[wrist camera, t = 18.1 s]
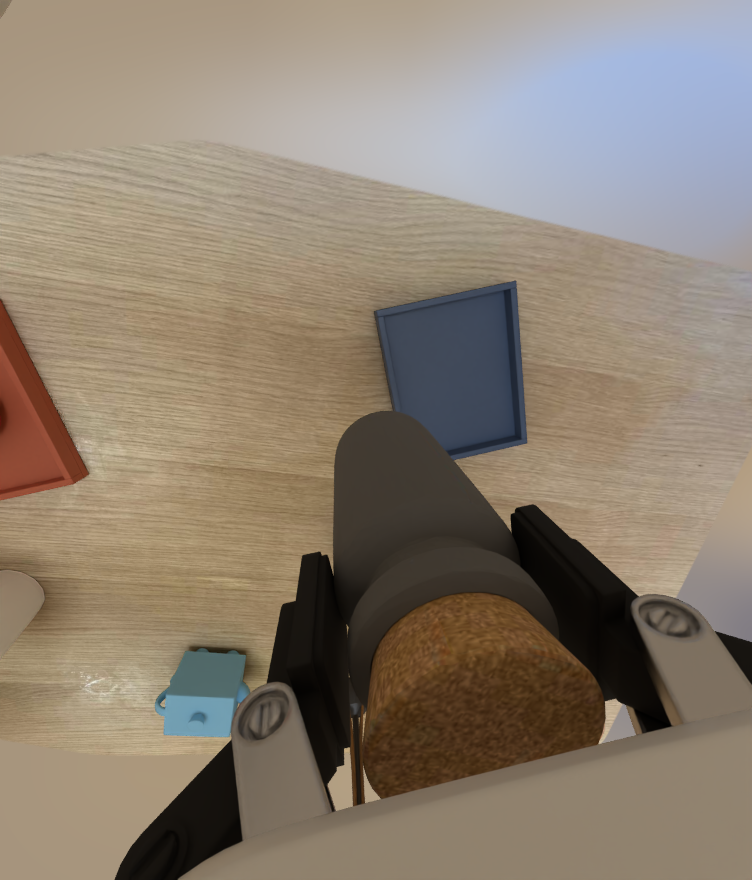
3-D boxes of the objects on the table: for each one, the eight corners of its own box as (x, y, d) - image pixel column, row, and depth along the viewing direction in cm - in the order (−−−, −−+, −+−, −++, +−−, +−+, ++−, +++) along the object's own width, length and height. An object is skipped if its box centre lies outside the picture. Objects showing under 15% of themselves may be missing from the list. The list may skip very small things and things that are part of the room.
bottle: (385, 387, 20) (513, 560, 5) (455, 456, 21) (691, 724, 7) (312, 462, 21) (260, 777, 6) (385, 522, 22) (471, 877, 8)
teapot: (275, 650, 47) (263, 709, 40) (269, 685, 48) (257, 748, 41) (175, 643, 45) (145, 704, 38) (173, 680, 46) (143, 745, 39)
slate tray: (373, 311, 35) (376, 310, 33) (505, 283, 36) (516, 280, 33) (402, 463, 40) (406, 471, 38) (517, 436, 41) (527, 443, 39)
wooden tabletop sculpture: (336, 671, 49) (336, 893, 30) (371, 669, 49) (392, 885, 30) (337, 703, 51) (337, 932, 32) (370, 700, 51) (390, 924, 32)
